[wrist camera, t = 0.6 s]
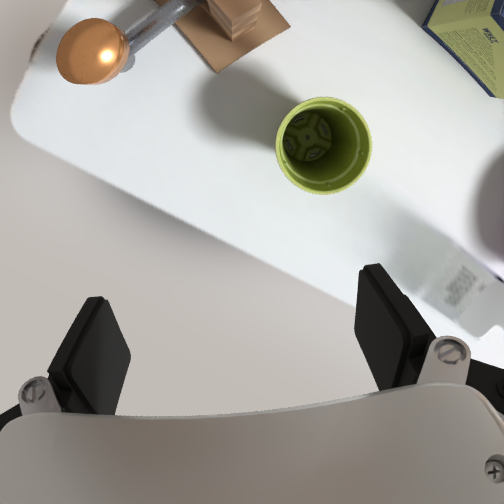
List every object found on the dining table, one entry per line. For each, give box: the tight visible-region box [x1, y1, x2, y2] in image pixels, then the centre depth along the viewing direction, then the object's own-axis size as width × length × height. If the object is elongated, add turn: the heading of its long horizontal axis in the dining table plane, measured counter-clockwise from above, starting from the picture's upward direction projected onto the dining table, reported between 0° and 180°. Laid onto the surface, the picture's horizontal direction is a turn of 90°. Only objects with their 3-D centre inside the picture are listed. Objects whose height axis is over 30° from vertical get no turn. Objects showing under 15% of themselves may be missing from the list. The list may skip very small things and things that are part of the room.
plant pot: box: [275, 97, 372, 195], centre depth 32 cm, size 9×9×9 cm
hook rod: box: [56, 0, 207, 85], centre depth 23 cm, size 19×6×10 cm, turn 126°
